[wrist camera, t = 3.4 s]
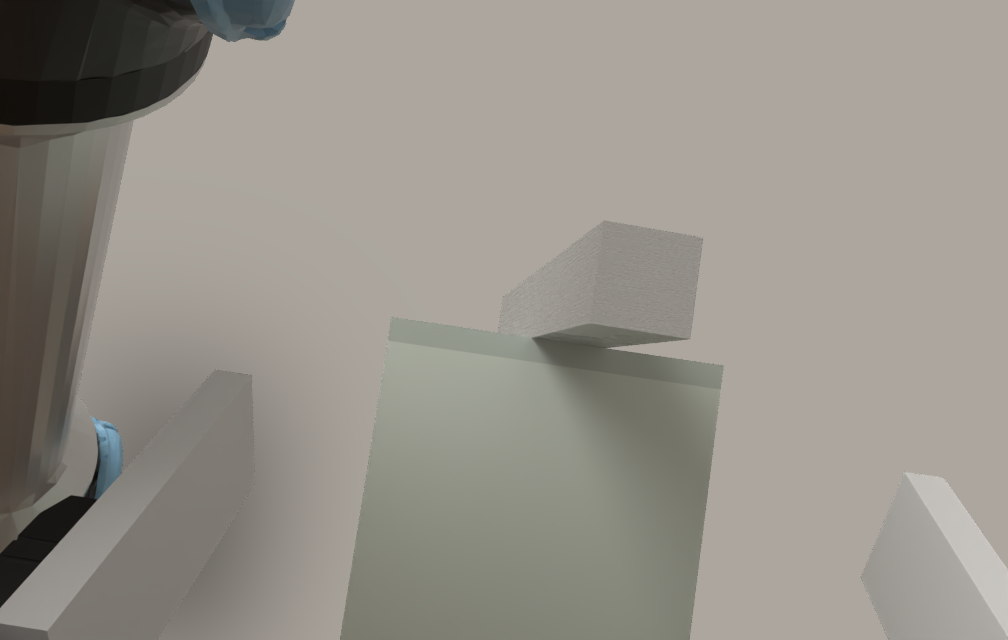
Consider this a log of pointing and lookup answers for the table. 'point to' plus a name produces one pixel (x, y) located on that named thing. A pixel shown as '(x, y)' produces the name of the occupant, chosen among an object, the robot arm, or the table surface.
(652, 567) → the pedestal
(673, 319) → the rail bar
